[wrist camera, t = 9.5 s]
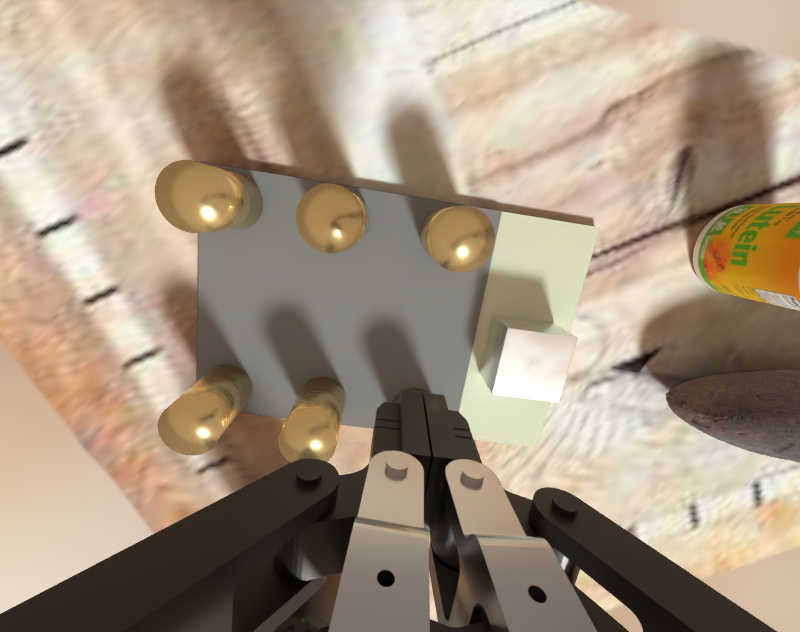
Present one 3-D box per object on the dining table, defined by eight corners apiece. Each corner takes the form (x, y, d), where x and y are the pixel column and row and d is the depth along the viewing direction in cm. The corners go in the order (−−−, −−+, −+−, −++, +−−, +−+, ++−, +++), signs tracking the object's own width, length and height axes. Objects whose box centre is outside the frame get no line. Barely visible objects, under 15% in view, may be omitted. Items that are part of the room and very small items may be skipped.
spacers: (475, 212, 21) (501, 211, 17) (432, 431, 25) (443, 482, 20) (209, 168, 20) (154, 154, 16) (204, 404, 24) (158, 451, 19)
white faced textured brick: (554, 322, 23) (577, 337, 21) (538, 380, 24) (558, 402, 22) (492, 313, 23) (507, 327, 20) (479, 372, 24) (492, 394, 21)
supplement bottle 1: (363, 563, 29) (347, 800, 17) (277, 579, 29) (202, 825, 17) (342, 489, 27) (307, 698, 15) (250, 507, 27) (145, 728, 15)
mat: (595, 227, 22) (600, 227, 22) (534, 442, 26) (538, 447, 26) (205, 163, 21) (200, 161, 20) (200, 403, 25) (196, 407, 24)
